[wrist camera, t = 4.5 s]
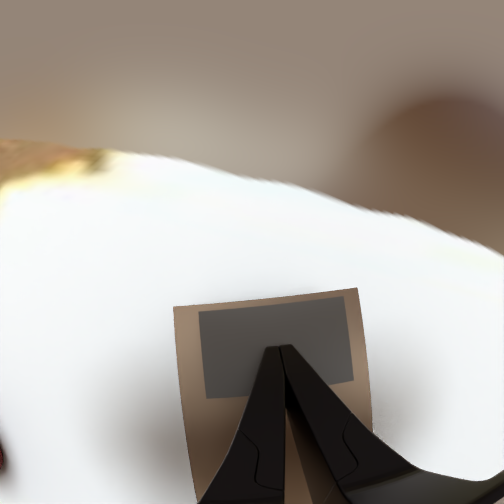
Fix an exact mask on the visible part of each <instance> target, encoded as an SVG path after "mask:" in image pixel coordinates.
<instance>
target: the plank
mask: <svg viewBox="0 0 504 504" xmlns="http://www.w3.org/2000/svg"><path fill="white" fill-rule="evenodd" d="M173 312H174V328H175V342H176V354H177V365H178V375H179V385H180V394H181V403H182V411H183V419H184V426H185V433H186V440H187V447H188V453H189V459H190V465H191V471H192V477H193V482H194V488H195V493H196V498H197V503H198V502H199V500H200V499H201V497H202V496H203V494H204V493H205V491H206V489H207V488H208V486H209V484H210V483H211V481H212V479H213V478H214V476H215V474H216V473H217V471H218V469H219V468H220V466H221V464H222V462H223V460H224V458H225V456H226V454H227V452H228V450H229V448H230V445H231V443H232V441H233V438H234V435H235V433H236V430H238V429H237V428H238V425H239V422H240V419H241V417H242V414H243V411H244V408H245V406H246V403H247V400H248V397H249V394H250V391H251V389H252V386H253V383H254V380H255V377H256V374H257V371H258V368H259V365H260V362H261V359H262V356H263V353H264V350H265V348H266V347H269V346H278V347H279V346H280V345H286V344H292V345H293V346H294V347H295V348H296V349H297V351H298V352H299V353H300V354H301V355H302V356H303V357H304V359H305V360H306V361H307V362H308V363H309V364H310V365H311V366H312V368H313V369H314V370H315V371H316V372H317V373H318V374H319V375H320V377H321V378H322V379H323V380H324V381H325V382H326V383H327V384H328V386H329V387H330V388H331V389H332V390H333V391H334V392H335V393H336V395H337V396H338V397H339V398H340V399H341V400H342V401H343V402H344V403H345V404H346V406H347V407H348V408H349V409H350V410H351V411H352V413H354V414H355V415H356V416H357V417H358V419H359V420H360V421H361V422H362V423H363V424H364V425H365V426H366V427H367V428H368V429H369V430H370V431H371V432H372V433H373V430H372V411H371V396H370V384H369V373H368V363H367V354H366V345H365V337H364V329H363V322H362V314H361V308H360V301H359V295H358V289H357V288H350V289H343V290H335V291H328V292H320V293H311V294H303V295H295V296H286V297H277V298H267V299H258V300H247V301H237V302H226V303H214V304H202V305H189V306H176V307H173ZM284 504H313V503H312V499H311V496H310V493H309V489H308V486H307V482H306V479H305V475H304V472H303V469H302V465H301V462H300V458H299V455H298V451H297V448H296V444H295V441H294V437H293V434H292V430H291V427H290V423H289V420H288V416H287V412H286V438H285V503H284Z"/></svg>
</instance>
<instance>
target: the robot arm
mask: <svg viewBox="0 0 504 504" xmlns="http://www.w3.org/2000/svg"><path fill="white" fill-rule="evenodd" d="M286 412H287V416H288V420H289V423H290V427H291V430H292V434H293V437H294V441H295V444H296V448H297V451H298V455H299V458H300V462H301V465H302V469H303V472H304V475H305V479H306V482H307V486H308V489H309V493H310V496H311V499H312V503H313V504H504V470H503V471H501V472H500V473H498V474H497V475H495V476H494V477H492V478H490V479H488V480H484V481H470V480H464V479H459V478H454V477H450V476H445V475H441V474H436V473H432V472H428V471H425V470H422V469H420V468H418V467H416V466H414V465H412V464H411V463H410V462H408V461H407V460H406V459H404V458H403V457H402V456H400V455H399V454H398V453H397V452H395V451H394V450H393V449H392V448H390V447H389V446H388V445H387V444H385V443H384V442H383V441H382V440H381V439H379V438H378V437H377V436H376V435H375V434H374V433H372V432H371V431H370V430H369V429H368V428H367V427H366V426H365V425H364V424H363V423H362V422H361V421H360V420H359V419H358V417H357V416H356V415H355V414H354V413H352V411H351V410H350V409H349V408H348V407H347V406H346V404H345V403H344V402H343V401H342V400H341V399H340V398H339V397H338V396H337V395H336V393H335V392H334V391H333V390H332V389H331V388H330V387H329V386H328V384H327V383H326V382H325V381H324V380H323V379H322V378H321V377H320V375H319V374H318V373H317V372H316V371H315V370H314V369H313V368H312V366H311V365H310V364H309V363H308V362H307V361H306V360H305V359H304V357H303V356H302V355H301V354H300V353H299V352H298V351H297V349H296V348H295V347H294V346H293V345H292V344H286V345H280V346H279V347H278V346H269V347H266V348H265V350H264V353H263V356H262V359H261V362H260V365H259V368H258V371H257V374H256V377H255V380H254V383H253V386H252V389H251V391H250V394H249V397H248V400H247V403H246V406H245V408H244V411H243V414H242V417H241V419H240V422H239V425H238V428H237V429H238V430H236V433H235V435H234V438H233V441H232V443H231V445H230V448H229V450H228V452H227V454H226V456H225V458H224V460H223V462H222V464H221V466H220V468H219V469H218V471H217V473H216V474H215V476H214V478H213V479H212V481H211V483H210V484H209V486H208V488H207V489H206V491H205V493H204V494H203V496H202V497H201V499H200V500H199V502H198V503H197V504H284V503H285V438H286Z"/></svg>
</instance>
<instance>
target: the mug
mask: <svg viewBox="0 0 504 504" xmlns="http://www.w3.org/2000/svg"><path fill="white" fill-rule="evenodd" d="M2 463H3V456H2V451H1V449H0V468H1V466H2Z"/></svg>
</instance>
